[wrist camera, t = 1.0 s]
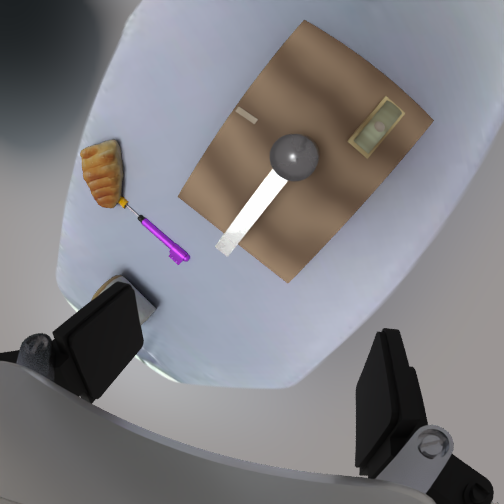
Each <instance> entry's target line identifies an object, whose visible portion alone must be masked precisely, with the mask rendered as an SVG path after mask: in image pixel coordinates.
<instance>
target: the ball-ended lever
mask: <svg viewBox="0 0 504 504" xmlns="http://www.w3.org/2000/svg"><path fill="white" fill-rule="evenodd" d="M319 156H320V153H319V148H318V146H317V144H316V142H315V141H314V140H313V139H312V138H310V137H309V136H307V135H304V134H288V135H285V136H282V137H280V138H279V139H278V140H277V141H276V142H275V143H274V144H273V146H272V148H271V150H270V164H271V166H272V168H273V170H272V171H271V172H270V173H269V175H268V176H267V177H266V179H265V180H264V181H263V183H262V184H261V185H260V187H259V188H258V189H257V190H256V192H255V193H254V194H253V196H252V197H251V198H250V200H249V201H248V202H247V204H246V205H245V206H244V208H243V209H242V210H241V212H240V213H239V214H238V216H237V217H236V218H235V220H234V221H233V223H232V224H231V225H230V227H229V228H228V229H227V231H226V232H225V233H224V235H223V236H222V237H221V239H220V240H219V242H218V243H217V244H216V246H215V247H216V248H217V249H218V250H219V251H221V252H222V253H223V254H225V255H226V256H227V257H228V256H229V254H230V253H231V252H232V251H233V250H234V248H235V247H236V246H237V245H238V243H239V242H240V241H241V240H242V238H243V237H244V236H245V234H246V233H247V232H248V231H249V229H250V228H251V227H252V226H253V224H254V223H255V222H256V220H257V219H258V218H259V217H260V215H261V214H262V213H263V212H264V210H265V209H266V208H267V207H268V205H269V204H270V203H271V202H272V200H273V199H274V198H275V196H276V195H277V194H278V193H279V191H280V190H281V189H282V188H283V186H284V185H285V184H286V183H287V181H301V180H304V179H306V178H308V177H309V176H310V175H311V174H312V173H313V172H314V170H315V168H316V166H317V164H318V161H319Z"/></svg>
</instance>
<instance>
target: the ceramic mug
mask: <svg viewBox="0 0 504 504" xmlns="http://www.w3.org/2000/svg"><path fill="white" fill-rule="evenodd" d="M117 281H120V282H124V283H128V284H130V285H131V286H132V288H133V289H134V291H135V296H136V302H137V308H138V314H139V319H140V324H141V325H142V324H143V323H144V322H145V321H146V320H147V319H148V318H149V317H150V316H151V315H152V314H153V313H154V312H155V310H156V308H155V307H154V306H153V305H152V304H151V303H150V302H149V301H148V300H147V299H146V298H145V297H144V296H143V295H142V294H141V293H140V292H139V291H138V290H137V289H136V288H135V287H134V286H133V285H132V284H131V283H130V282H129V281H128V280H127V279H125V278H124V277H123V276H121V275H116V276H114V277H112V278H111V279H109V280H108V281H107V282H106V283H104V284H103V285H102V286H101V287H100V288H99V289H98V290H97V292H96V293H95V294H94V296H93V298H92V300H93V299H94V298H96V297H97V296H98V295H100V294H101V293H102V292H103V291H105V290H106V289H107V288H109V287H110V286H111V285H113V284H114V283H115V282H117ZM92 300H91V301H92Z"/></svg>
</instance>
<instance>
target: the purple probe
mask: <svg viewBox="0 0 504 504" xmlns="http://www.w3.org/2000/svg"><path fill="white" fill-rule="evenodd" d="M118 203H119V204H120V205H121V206H122V207H123V208H125V207H124V206H125V205H126V206H127V207H128V208H129V209H130V210H131V211H132V212H133V213H134V214H136V215H137V216H138V220H139V221H140V222H141V223H142V225H143V226H145V227H146V228H147V229H148V230H149V231H150V232H151V233H152V234H154V235H155V236H156V237H157V238H158V239H159V240H160V241H162V242H163V243H164V244H165V245H166V246H167V247H168V248H170V249H171V250H170V255H169V257H170V258H171V259H172V260H173V261H174V262H176V261H177V262H176V263H177V264H178V265H179V264H180V263H181V262H182V261H188V260H189V259H190V256H189V255H188V253H187V252H185V251H184V250H183V249H182V248H181V247H180V246H178V245H177V244H175V243H174V242H173V241H172V240H170V239H169V238H168V237H167V236H166V235H165V234H164V233H162V232H161V231H160V230H159V229H158V228H157V227H156V226H154V225H153V224H152V223H151V222H150V221H149V220H148V219H146V218H144V217H143V216H142V215H138V214H137V213H136V212H135V211H134V210H132V209H131V208H130V207H129V206H128V205H127V204H126V203H128V201H127V200H126V199H125V198H124V197H122V196H121V197H120V200H119V201H118ZM172 257H173V258H172Z"/></svg>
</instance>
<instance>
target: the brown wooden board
mask: <svg viewBox="0 0 504 504" xmlns="http://www.w3.org/2000/svg"><path fill="white" fill-rule="evenodd" d="M433 121H434V120H433V119H432V118H431V117H430V116H429V115H428V114H427V113H426V112H425V111H424V110H423V109H422V108H421V107H420V106H419V105H418V104H417V103H416V102H415V101H414V100H413V99H412V98H411V97H409V96H408V95H407V94H406V93H405V92H404V91H403V90H402V89H401V88H399V87H398V86H397V85H396V84H395V83H394V82H393V81H391V80H390V79H389V78H388V77H387V76H385V75H384V74H383V73H382V72H380V71H379V70H378V69H377V68H375V67H374V66H373V65H372V64H370V63H369V62H368V61H366V60H365V59H364V58H362V57H361V56H360V55H358V54H357V53H355V52H354V51H353V50H351V49H350V48H348V47H347V46H345V45H344V44H343V43H341V42H340V41H338V40H337V39H335V38H333V37H332V36H330V35H329V34H327V33H326V32H324V31H322V30H321V29H319V28H317V27H316V26H314V25H312V24H311V23H309V22H307V21H306V20H304V21H303V22H302V23H301V24H300V25H299V26H298V27H297V29H296V30H295V31H294V32H293V33H292V34H291V36H290V37H289V38H288V39H287V40H286V42H285V43H284V44H283V45H282V46H281V48H280V49H279V50H278V51H277V53H276V54H275V55H274V56H273V58H272V59H271V60H270V61H269V63H268V64H267V65H266V66H265V68H264V69H263V70H262V72H261V73H260V74H259V76H258V77H257V78H256V80H255V81H254V82H253V84H252V85H251V86H250V88H249V89H248V90H247V92H246V93H245V94H244V96H243V97H242V98H241V100H240V101H239V103H238V104H237V105H236V107H235V108H234V110H233V111H232V113H231V114H230V115H229V117H228V118H227V120H226V121H225V123H224V124H223V126H222V127H221V129H220V130H219V132H218V133H217V135H216V136H215V138H214V139H213V141H212V142H211V144H210V145H209V147H208V148H207V150H206V151H205V153H204V154H203V156H202V158H201V159H200V161H199V162H198V164H197V166H196V167H195V169H194V170H193V172H192V174H191V175H190V177H189V179H188V180H187V182H186V183H185V185H184V187H183V188H182V190H181V192H180V194H179V195H178V197H179V198H180V199H181V200H183V201H184V202H185V203H186V204H188V205H189V206H190V207H191V208H193V209H194V210H195V211H197V212H198V213H199V214H200V215H202V216H203V217H204V218H205V219H207V220H208V221H209V222H210V223H212V224H213V225H214V226H216V227H217V228H218V229H219V230H221V231H222V232H223V233H225V232H226V231H227V229H228V228H229V227H230V225H231V224H232V223H233V221H234V220H235V218H236V217H237V216H238V214H239V213H240V212H241V210H242V209H243V208H244V206H245V205H246V204H247V202H248V201H249V200H250V198H251V197H252V196H253V194H254V193H255V192H256V190H257V189H258V188H259V187H260V185H261V184H262V183H263V181H264V180H265V179H266V177H267V176H268V175H269V173H270V172H271V171H272V170H273V168H272V166H271V164H270V150H271V148H272V146H273V144H274V143H275V142H276V141H277V140H278V139H279V138H280V137H282V136H285V135H288V134H304V135H307V136H309V137H310V138H312V139H313V140H314V141H315V142H316V144H317V146H318V148H319V153H320V156H319V161H318V164H317V166H316V168H315V170H314V172H313V173H312V174H311V175H310V176H309V177H308V178H306V179H304V180H301V181H287V183H286V184H285V185H284V186H283V188H282V189H281V190H280V191H279V193H278V194H277V195H276V196H275V198H274V199H273V200H272V202H271V203H270V204H269V205H268V207H267V208H266V209H265V210H264V212H263V213H262V214H261V215H260V217H259V218H258V219H257V220H256V222H255V223H254V224H253V226H252V227H251V228H250V229H249V231H248V232H247V233H246V234H245V236H244V237H243V238H242V240H241V241H240V242H239V243H238V245H240V246H241V247H242V248H243V249H245V250H246V251H247V252H248V253H250V254H251V255H252V256H254V257H255V258H256V259H257V260H259V261H260V262H261V263H262V264H264V265H265V266H266V267H268V268H269V269H270V270H271V271H273V272H274V273H275V274H276V275H278V276H279V277H280V278H282V279H283V280H284V281H285V282H287V283H289V282H290V281H291V280H292V279H293V278H294V277H295V276H296V275H297V274H298V273H299V272H300V271H301V270H302V269H303V268H304V267H305V266H306V265H307V263H308V262H309V261H310V260H311V259H312V258H313V257H314V256H315V255H316V254H317V253H318V252H319V251H320V250H321V249H322V248H323V247H324V246H325V245H326V244H327V242H328V241H329V240H330V239H331V238H332V237H333V236H334V235H335V234H336V233H337V232H338V231H339V230H340V229H341V227H342V226H343V225H344V224H345V223H346V222H347V221H348V220H349V219H350V218H351V217H352V215H353V214H354V213H355V212H356V211H357V210H358V209H359V208H360V207H361V206H362V204H363V203H364V202H365V201H366V200H367V199H368V198H369V197H370V195H371V194H372V193H373V192H374V191H375V190H376V189H377V188H378V186H379V185H380V184H381V183H382V182H383V181H384V180H385V178H386V177H387V176H388V175H389V174H390V173H391V172H392V170H393V169H394V168H395V167H396V166H397V165H398V163H399V162H400V161H401V160H402V159H403V157H404V156H405V155H406V154H407V153H408V152H409V150H410V149H411V148H412V147H413V146H414V144H415V143H416V142H417V141H418V140H419V138H420V137H421V136H422V135H423V133H424V132H425V131H426V130H427V129H428V127H429V126H430V125H431V124H432V122H433Z"/></svg>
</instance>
